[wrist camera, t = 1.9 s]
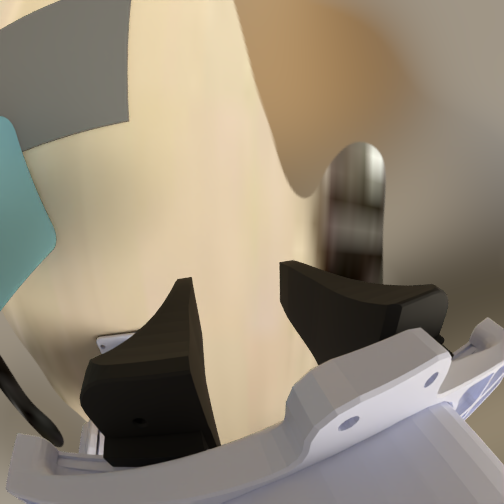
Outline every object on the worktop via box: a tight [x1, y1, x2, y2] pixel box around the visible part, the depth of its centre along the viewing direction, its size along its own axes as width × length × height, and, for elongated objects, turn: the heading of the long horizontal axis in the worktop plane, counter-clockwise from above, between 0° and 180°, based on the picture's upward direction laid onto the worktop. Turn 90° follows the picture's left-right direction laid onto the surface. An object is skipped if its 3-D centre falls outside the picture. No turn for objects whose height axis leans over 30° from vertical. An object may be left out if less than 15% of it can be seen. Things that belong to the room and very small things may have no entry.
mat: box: [0, 0, 131, 152], centre depth 12 cm, size 14×22×1 cm, turn 93°
